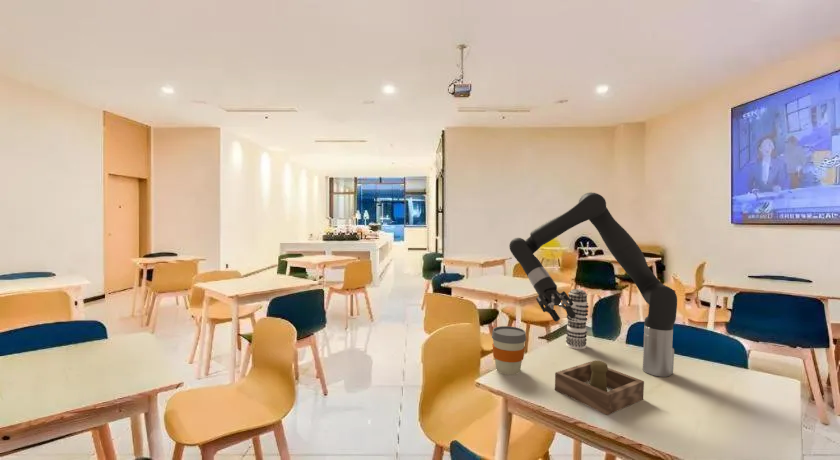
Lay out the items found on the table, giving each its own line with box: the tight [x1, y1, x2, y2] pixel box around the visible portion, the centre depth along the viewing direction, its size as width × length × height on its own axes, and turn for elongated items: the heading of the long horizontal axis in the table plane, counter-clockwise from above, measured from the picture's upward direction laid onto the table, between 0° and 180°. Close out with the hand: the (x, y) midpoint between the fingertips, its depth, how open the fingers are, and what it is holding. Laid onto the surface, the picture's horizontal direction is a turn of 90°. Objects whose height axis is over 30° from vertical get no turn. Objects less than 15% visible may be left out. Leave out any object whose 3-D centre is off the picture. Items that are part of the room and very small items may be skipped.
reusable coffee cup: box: [491, 325, 527, 376], centre depth 152 cm, size 13×13×15 cm
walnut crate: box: [554, 361, 645, 416], centre depth 133 cm, size 19×19×6 cm
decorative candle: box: [565, 288, 590, 350], centre depth 179 cm, size 9×9×25 cm
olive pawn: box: [589, 360, 609, 392], centre depth 133 cm, size 6×6×11 cm
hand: (565, 318), depth 144 cm, fingers open, 8 cm apart
